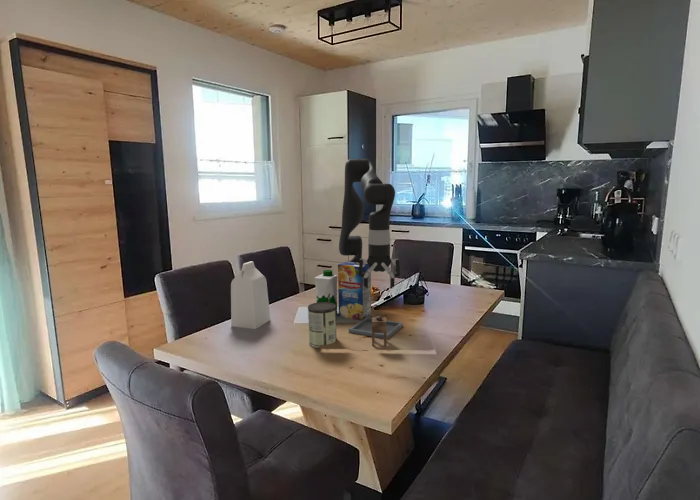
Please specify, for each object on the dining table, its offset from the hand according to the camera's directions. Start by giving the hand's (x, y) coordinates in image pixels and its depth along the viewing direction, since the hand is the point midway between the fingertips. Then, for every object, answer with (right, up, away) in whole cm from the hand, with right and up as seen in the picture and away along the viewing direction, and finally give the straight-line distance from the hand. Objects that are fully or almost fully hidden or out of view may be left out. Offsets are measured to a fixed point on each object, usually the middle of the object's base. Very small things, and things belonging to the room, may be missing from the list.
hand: (379, 288), depth 148 cm
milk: (-52, -18, +31) cm, 63 cm away
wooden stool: (0, -21, +3) cm, 22 cm away
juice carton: (-8, -17, +35) cm, 39 cm away
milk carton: (-21, -16, +39) cm, 47 cm away
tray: (0, -19, +18) cm, 26 cm away
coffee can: (-20, -21, +7) cm, 30 cm away
